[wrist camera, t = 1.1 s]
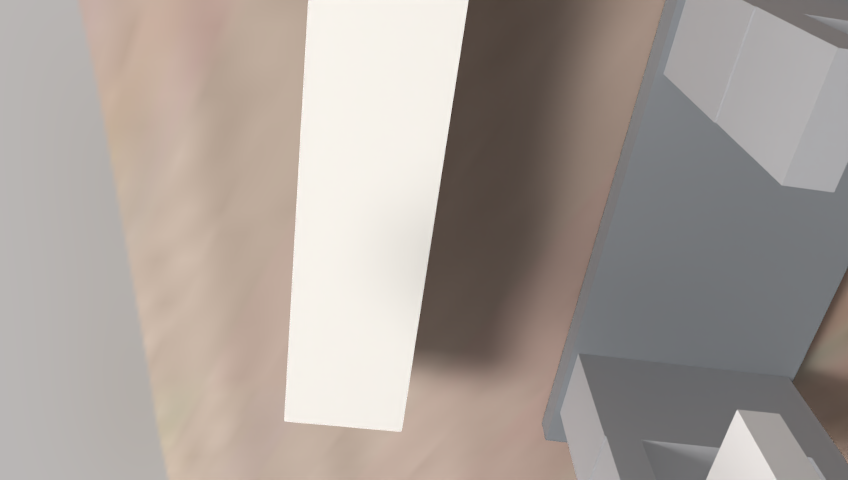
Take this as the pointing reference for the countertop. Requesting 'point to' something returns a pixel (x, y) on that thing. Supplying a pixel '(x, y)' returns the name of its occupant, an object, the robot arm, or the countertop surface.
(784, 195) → the bracket stand
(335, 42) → the rail
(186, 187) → the countertop surface
